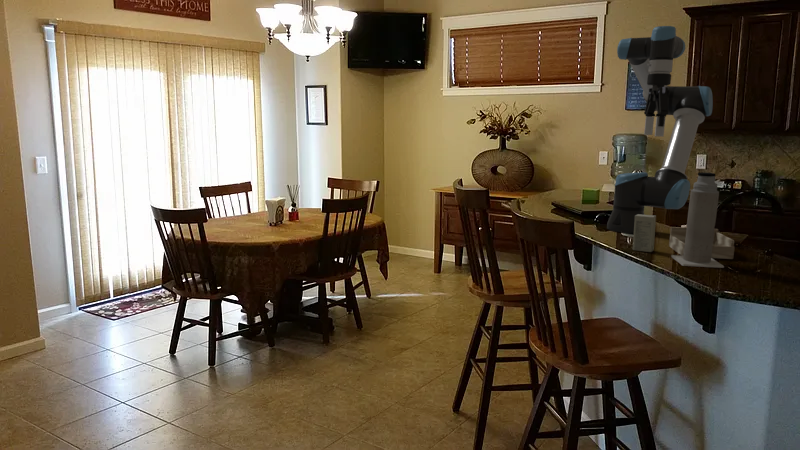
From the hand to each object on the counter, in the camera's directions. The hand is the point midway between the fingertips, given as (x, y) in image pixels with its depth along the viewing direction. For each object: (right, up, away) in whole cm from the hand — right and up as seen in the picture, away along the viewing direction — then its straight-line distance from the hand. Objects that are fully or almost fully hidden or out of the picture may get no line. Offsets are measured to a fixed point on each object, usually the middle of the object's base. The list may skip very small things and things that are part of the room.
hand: (653, 135), depth 211 cm
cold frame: (+14, -41, -5) cm, 43 cm away
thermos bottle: (+6, -43, -19) cm, 47 cm away
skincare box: (-5, -40, -4) cm, 41 cm away
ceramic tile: (+6, -43, -19) cm, 48 cm away
